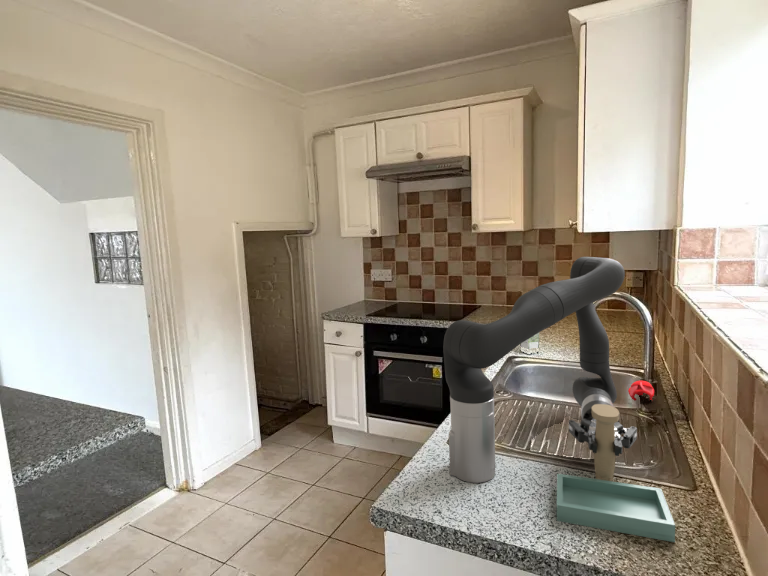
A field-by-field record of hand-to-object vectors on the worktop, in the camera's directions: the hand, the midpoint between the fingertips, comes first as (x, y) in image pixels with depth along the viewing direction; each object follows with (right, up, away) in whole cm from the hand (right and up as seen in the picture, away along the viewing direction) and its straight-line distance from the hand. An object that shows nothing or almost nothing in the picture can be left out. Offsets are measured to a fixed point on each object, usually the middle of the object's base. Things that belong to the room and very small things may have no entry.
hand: (606, 449), depth 86 cm
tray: (-2, -9, -6) cm, 11 cm away
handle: (+1, -8, +4) cm, 9 cm away
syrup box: (+19, +4, +101) cm, 103 cm away
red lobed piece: (+33, -2, +45) cm, 56 cm away
